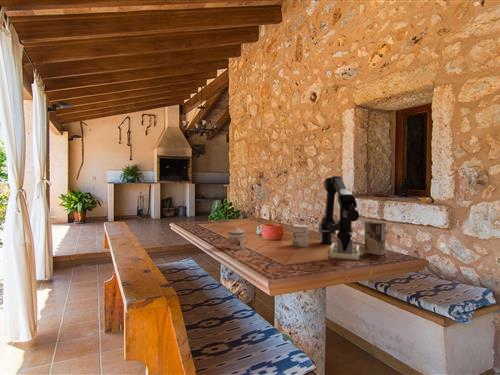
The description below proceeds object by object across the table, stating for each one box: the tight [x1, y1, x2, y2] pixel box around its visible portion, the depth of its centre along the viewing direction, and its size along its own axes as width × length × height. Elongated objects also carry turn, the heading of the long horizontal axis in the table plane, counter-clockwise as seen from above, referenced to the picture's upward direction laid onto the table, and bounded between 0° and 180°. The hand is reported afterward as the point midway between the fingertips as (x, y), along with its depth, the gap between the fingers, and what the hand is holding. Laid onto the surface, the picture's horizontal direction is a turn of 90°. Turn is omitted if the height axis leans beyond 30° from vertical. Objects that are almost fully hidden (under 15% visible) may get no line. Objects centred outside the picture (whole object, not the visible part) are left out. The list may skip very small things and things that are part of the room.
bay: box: [329, 242, 360, 252], centre depth 171 cm, size 14×14×2 cm
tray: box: [329, 248, 361, 261], centre depth 159 cm, size 10×14×2 cm
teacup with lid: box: [227, 226, 250, 250], centre depth 175 cm, size 12×9×12 cm
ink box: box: [292, 223, 309, 248], centre depth 183 cm, size 8×5×12 cm, turn 76°
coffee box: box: [364, 221, 387, 256], centre depth 167 cm, size 9×6×16 cm
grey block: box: [336, 237, 354, 254], centre depth 159 cm, size 5×7×7 cm
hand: (344, 249), depth 159 cm, fingers closed on grey block, 5 cm apart
